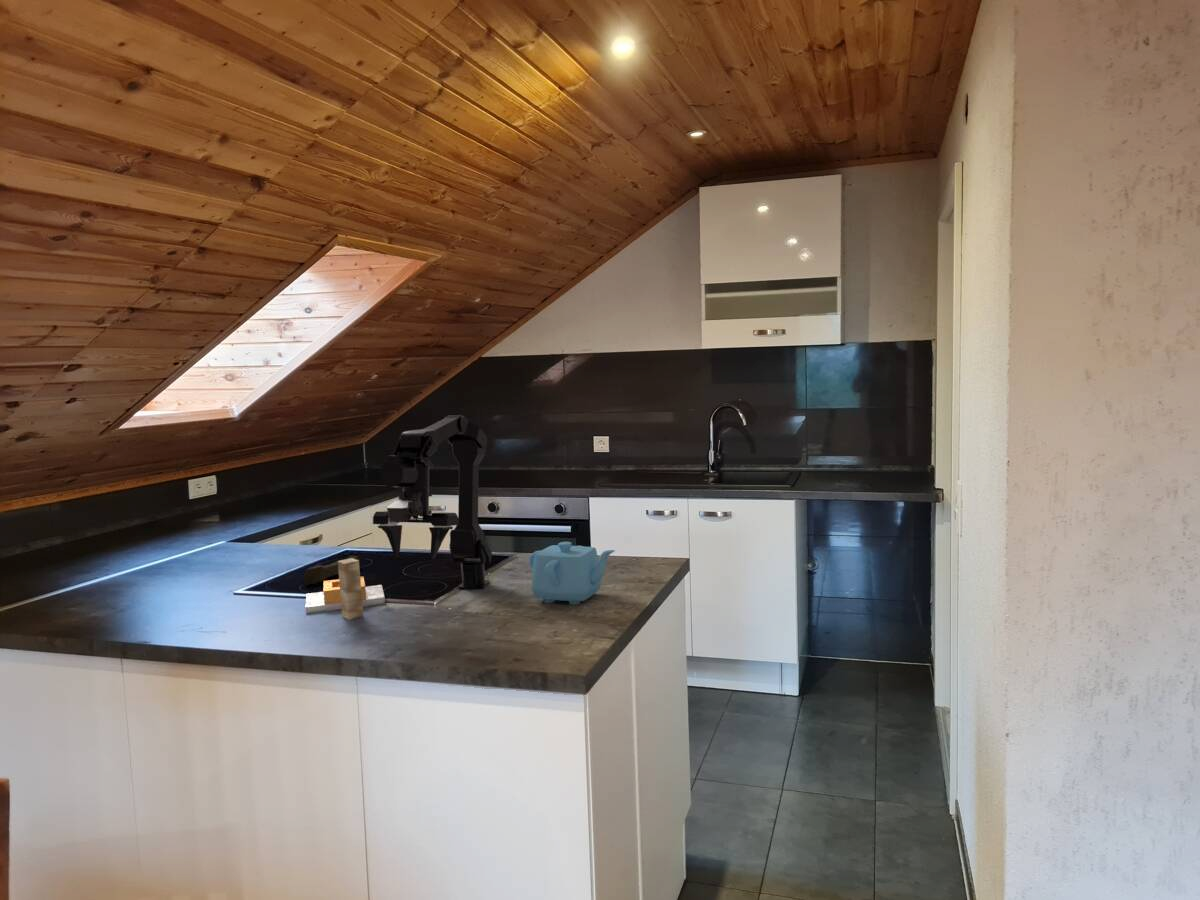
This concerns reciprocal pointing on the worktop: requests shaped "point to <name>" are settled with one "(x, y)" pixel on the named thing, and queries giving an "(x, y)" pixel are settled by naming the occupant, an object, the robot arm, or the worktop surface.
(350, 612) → the tan block
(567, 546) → the teapot
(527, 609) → the worktop surface
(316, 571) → the hand tool
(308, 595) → the bracket plate
